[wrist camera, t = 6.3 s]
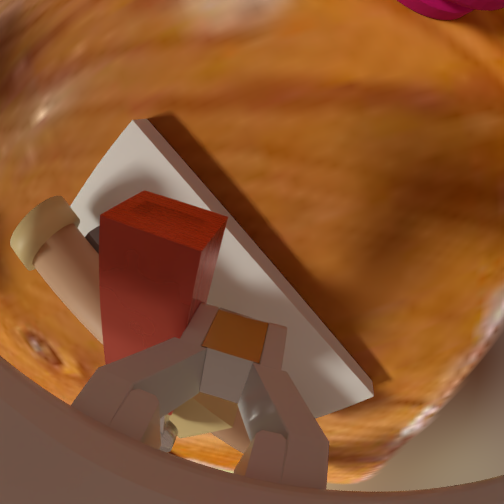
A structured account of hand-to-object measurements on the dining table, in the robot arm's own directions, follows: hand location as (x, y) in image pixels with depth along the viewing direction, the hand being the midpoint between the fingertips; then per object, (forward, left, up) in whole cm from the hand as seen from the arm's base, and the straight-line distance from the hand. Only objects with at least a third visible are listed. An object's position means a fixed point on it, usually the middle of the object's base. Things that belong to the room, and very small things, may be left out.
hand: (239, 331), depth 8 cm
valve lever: (+4, 0, -1) cm, 4 cm away
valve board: (+8, +2, -9) cm, 12 cm away
